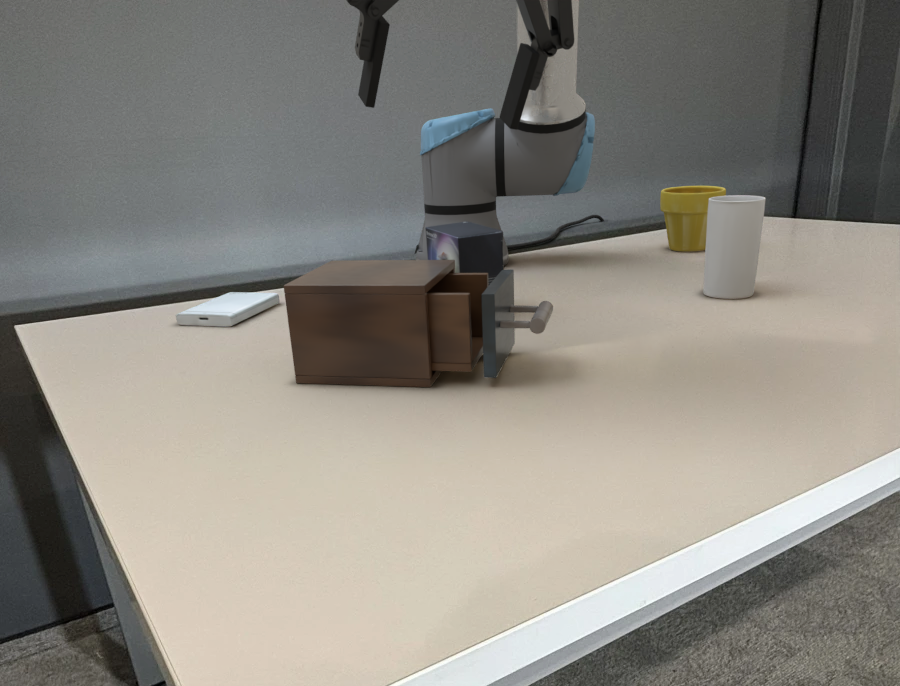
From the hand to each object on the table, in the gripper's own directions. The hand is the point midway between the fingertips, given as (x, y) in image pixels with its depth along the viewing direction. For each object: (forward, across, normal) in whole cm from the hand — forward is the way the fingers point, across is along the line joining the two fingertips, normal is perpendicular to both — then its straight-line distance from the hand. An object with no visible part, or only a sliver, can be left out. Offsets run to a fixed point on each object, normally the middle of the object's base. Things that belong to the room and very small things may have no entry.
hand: (439, 113), depth 70 cm
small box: (+28, +15, +12) cm, 34 cm away
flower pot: (+27, +64, +34) cm, 78 cm away
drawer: (+20, +5, -8) cm, 23 cm away
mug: (+19, +49, +6) cm, 52 cm away
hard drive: (+38, -12, +26) cm, 47 cm away
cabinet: (+24, -2, -4) cm, 25 cm away
